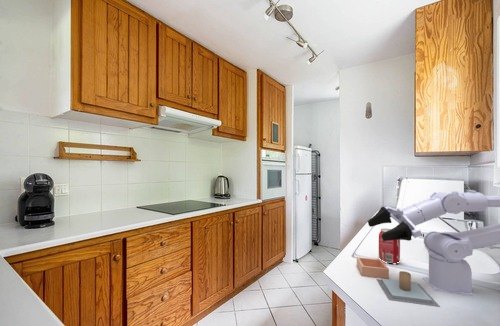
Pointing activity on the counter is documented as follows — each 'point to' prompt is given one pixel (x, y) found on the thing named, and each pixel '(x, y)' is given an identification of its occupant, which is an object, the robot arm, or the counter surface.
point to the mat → (406, 300)
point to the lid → (406, 289)
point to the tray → (372, 268)
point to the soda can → (389, 249)
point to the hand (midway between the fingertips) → (375, 230)
